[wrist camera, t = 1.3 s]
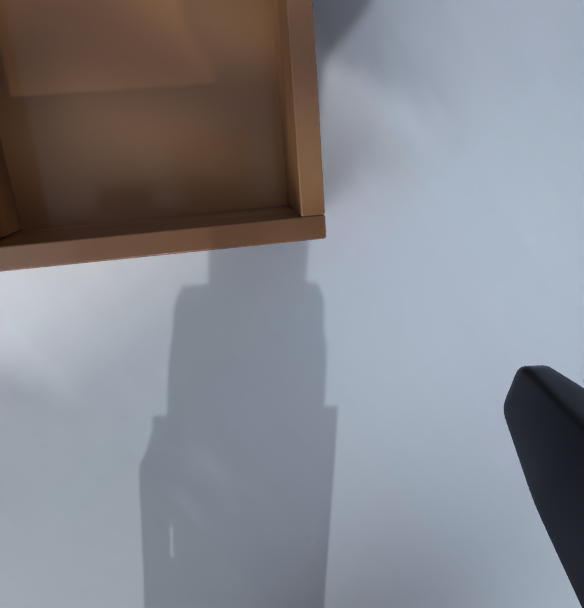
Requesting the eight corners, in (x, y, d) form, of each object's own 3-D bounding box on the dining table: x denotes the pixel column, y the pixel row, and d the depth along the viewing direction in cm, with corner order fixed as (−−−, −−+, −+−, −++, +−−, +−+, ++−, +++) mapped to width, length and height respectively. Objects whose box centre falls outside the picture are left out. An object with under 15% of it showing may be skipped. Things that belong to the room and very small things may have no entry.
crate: (307, 221, 22) (326, 238, 18) (11, 250, 21) (-37, 275, 17) (284, -117, 18) (301, -186, 14) (-75, -106, 17) (-161, -178, 13)
